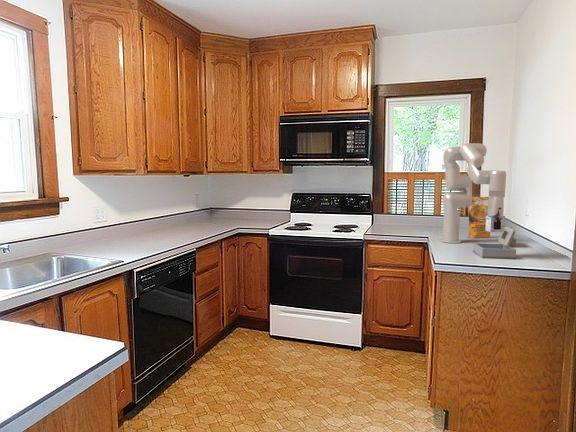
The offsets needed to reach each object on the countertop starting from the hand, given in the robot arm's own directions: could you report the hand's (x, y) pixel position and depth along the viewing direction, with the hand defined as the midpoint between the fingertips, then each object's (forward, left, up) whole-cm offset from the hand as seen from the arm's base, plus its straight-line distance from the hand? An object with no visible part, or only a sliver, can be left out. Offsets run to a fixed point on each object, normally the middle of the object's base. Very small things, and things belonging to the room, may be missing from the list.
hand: (494, 228), depth 205 cm
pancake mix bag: (-62, +11, -15) cm, 65 cm away
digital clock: (-34, +18, -15) cm, 41 cm away
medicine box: (0, 0, -2) cm, 2 cm away
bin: (0, 0, -15) cm, 15 cm away
